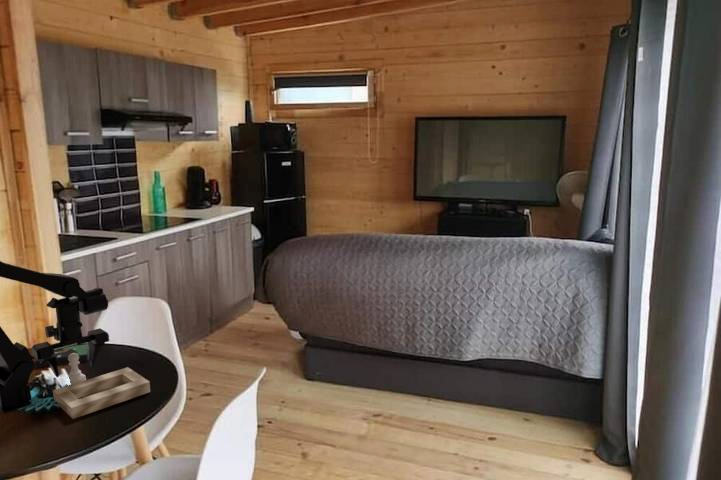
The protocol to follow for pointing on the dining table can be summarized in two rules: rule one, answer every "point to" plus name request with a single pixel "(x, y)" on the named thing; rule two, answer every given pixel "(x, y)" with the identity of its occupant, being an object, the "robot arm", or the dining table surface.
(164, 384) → the dining table surface
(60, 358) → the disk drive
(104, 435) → the dining table surface
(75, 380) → the chess pawn
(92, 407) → the wooden rectangular frame
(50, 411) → the dining table surface
